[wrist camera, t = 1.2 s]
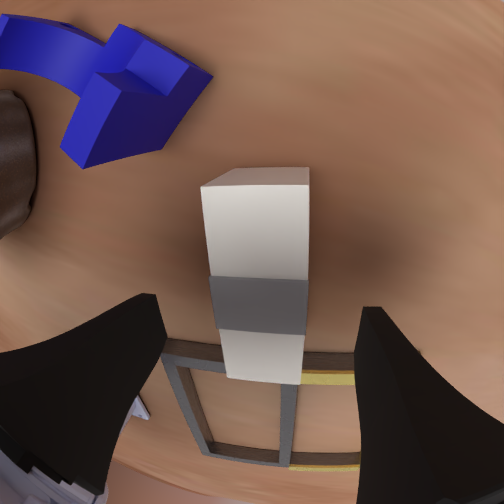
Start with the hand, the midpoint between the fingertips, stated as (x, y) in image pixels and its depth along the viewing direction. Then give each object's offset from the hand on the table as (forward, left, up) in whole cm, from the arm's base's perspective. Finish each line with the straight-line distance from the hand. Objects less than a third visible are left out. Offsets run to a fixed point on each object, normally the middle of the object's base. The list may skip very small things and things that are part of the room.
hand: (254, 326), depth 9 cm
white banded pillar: (0, 0, -6) cm, 6 cm away
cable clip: (-8, +11, -6) cm, 15 cm away
